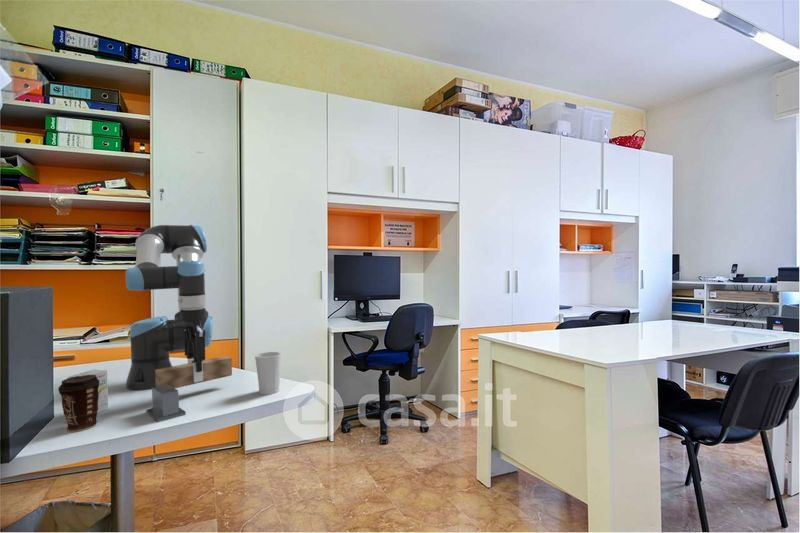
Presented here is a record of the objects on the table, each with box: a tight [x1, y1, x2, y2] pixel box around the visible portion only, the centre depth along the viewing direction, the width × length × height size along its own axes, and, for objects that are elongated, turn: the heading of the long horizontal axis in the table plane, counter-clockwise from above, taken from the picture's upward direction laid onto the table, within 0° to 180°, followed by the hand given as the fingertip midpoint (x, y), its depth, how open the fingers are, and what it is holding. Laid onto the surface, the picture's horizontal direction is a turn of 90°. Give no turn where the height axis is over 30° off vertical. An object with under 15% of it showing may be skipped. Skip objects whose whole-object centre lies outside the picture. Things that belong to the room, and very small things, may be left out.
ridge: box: [145, 384, 187, 423], centre depth 116 cm, size 11×7×7 cm, turn 45°
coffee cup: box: [58, 375, 99, 433], centre depth 108 cm, size 9×8×13 cm
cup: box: [254, 351, 282, 395], centre depth 133 cm, size 8×8×12 cm
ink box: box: [66, 369, 109, 414], centre depth 118 cm, size 9×5×12 cm, turn 168°
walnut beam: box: [155, 355, 233, 389], centre depth 133 cm, size 22×4×6 cm, turn 135°
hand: (195, 379), depth 133 cm, fingers closed on walnut beam, 4 cm apart
